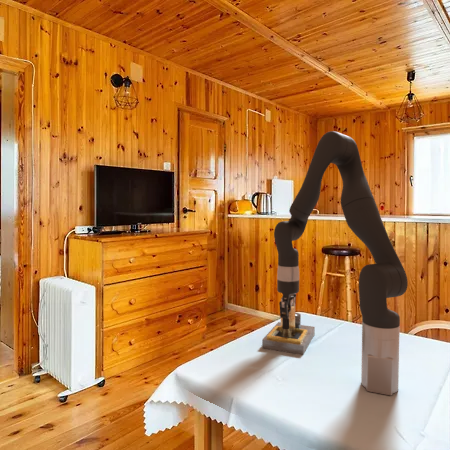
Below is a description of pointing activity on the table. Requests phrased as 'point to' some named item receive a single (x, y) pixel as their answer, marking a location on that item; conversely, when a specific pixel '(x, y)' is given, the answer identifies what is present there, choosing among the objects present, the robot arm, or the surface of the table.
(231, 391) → the table surface
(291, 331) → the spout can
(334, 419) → the table surface
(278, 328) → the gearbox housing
